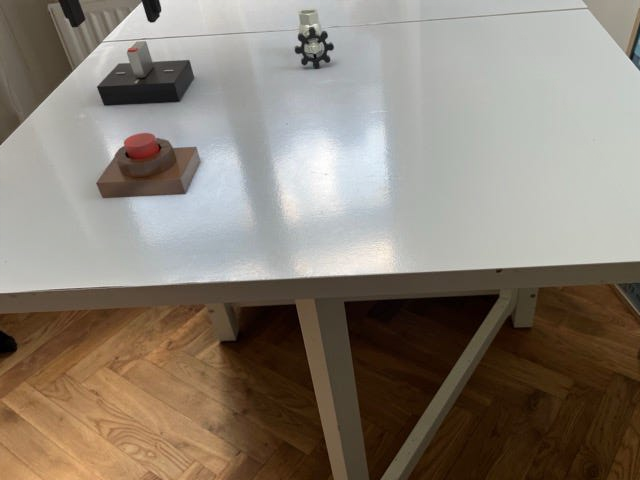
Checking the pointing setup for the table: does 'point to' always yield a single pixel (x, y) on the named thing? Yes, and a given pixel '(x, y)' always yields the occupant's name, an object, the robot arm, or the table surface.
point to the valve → (312, 38)
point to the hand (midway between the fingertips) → (116, 21)
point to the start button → (141, 146)
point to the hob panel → (147, 83)
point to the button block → (150, 172)
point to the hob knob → (140, 59)
